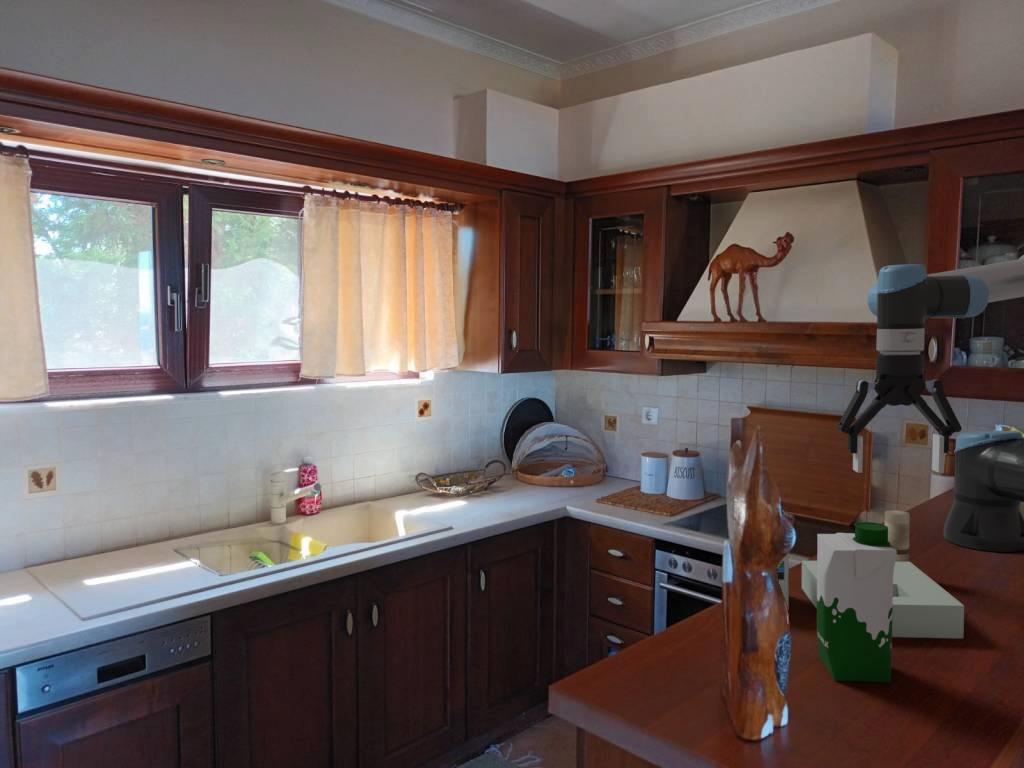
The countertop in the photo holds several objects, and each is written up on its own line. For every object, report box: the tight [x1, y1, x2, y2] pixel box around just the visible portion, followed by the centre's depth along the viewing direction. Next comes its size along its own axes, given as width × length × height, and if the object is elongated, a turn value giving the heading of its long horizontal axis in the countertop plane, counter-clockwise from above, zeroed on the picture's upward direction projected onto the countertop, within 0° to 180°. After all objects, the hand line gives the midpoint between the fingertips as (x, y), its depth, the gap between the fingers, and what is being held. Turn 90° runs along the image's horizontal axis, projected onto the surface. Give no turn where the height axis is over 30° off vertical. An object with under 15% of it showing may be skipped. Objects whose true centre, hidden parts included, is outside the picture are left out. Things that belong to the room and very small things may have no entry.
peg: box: [884, 509, 911, 562], centre depth 137 cm, size 4×4×12 cm
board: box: [801, 560, 965, 640], centre depth 123 cm, size 18×20×5 cm
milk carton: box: [816, 521, 897, 683], centre depth 102 cm, size 9×9×20 cm
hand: (897, 471), depth 136 cm, fingers open, 13 cm apart
